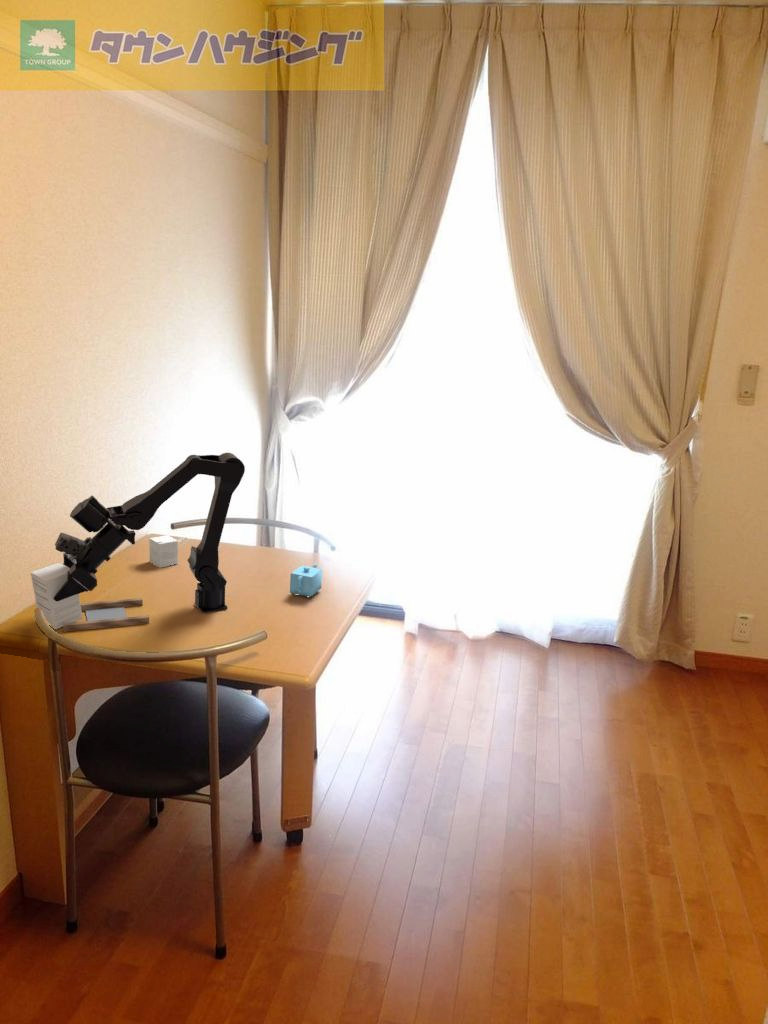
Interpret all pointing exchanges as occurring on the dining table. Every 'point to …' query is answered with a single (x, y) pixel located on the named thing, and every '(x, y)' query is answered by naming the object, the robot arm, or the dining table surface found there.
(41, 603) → the supplement box
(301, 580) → the pale blue boxy block
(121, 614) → the guide rails
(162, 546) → the skincare box
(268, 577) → the dining table surface
